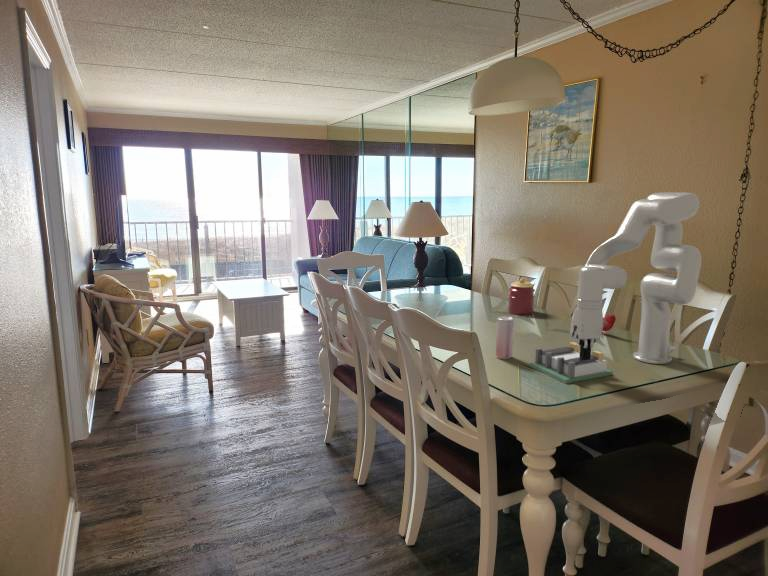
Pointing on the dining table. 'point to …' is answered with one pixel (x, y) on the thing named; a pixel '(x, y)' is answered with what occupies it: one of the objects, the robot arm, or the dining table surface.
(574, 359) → the near strap
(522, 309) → the canister
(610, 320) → the decorative bird figurine
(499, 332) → the beverage can
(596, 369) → the board
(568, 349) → the strap
